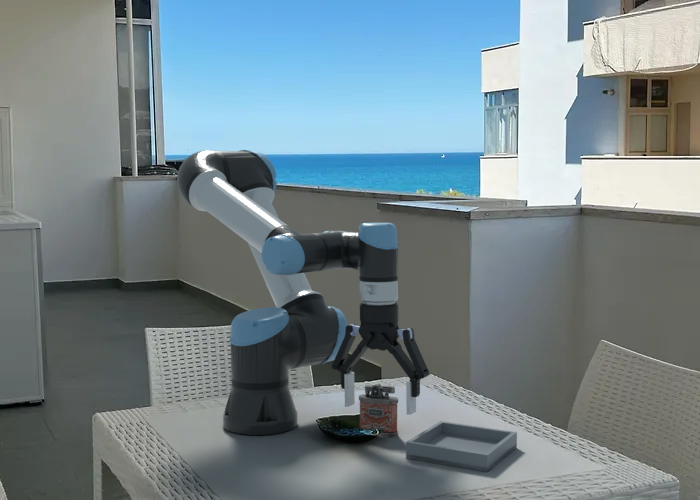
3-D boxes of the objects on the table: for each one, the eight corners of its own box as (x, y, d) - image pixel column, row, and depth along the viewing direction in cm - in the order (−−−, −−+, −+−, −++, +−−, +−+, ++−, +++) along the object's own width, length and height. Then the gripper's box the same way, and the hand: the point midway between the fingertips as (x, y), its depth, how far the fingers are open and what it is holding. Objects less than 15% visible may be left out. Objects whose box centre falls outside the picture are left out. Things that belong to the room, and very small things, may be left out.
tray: (406, 458, 169) (406, 442, 168) (440, 435, 182) (440, 421, 182) (487, 472, 161) (487, 455, 161) (516, 447, 175) (516, 432, 175)
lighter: (356, 434, 184) (356, 384, 183) (362, 429, 187) (362, 380, 186) (394, 438, 181) (394, 388, 180) (400, 434, 184) (400, 384, 183)
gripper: (314, 300, 184) (315, 406, 186) (429, 308, 172) (430, 421, 173) (333, 296, 190) (334, 398, 192) (445, 303, 178) (446, 411, 180)
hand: (380, 409), depth 183 cm, fingers open, 13 cm apart
